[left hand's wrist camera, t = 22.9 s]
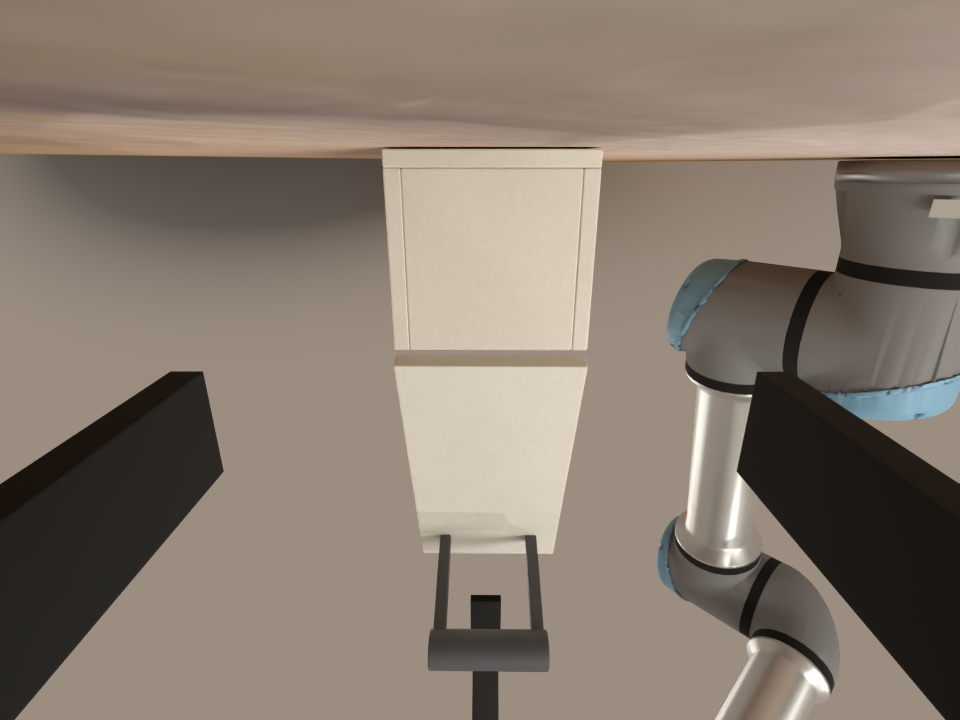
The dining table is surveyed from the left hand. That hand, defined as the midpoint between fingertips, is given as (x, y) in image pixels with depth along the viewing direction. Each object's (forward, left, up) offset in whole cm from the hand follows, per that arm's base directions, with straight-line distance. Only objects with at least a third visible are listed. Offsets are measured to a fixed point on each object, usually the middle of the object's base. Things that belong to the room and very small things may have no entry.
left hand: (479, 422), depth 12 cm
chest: (+16, -11, -6) cm, 21 cm away
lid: (+12, -8, +11) cm, 18 cm away
